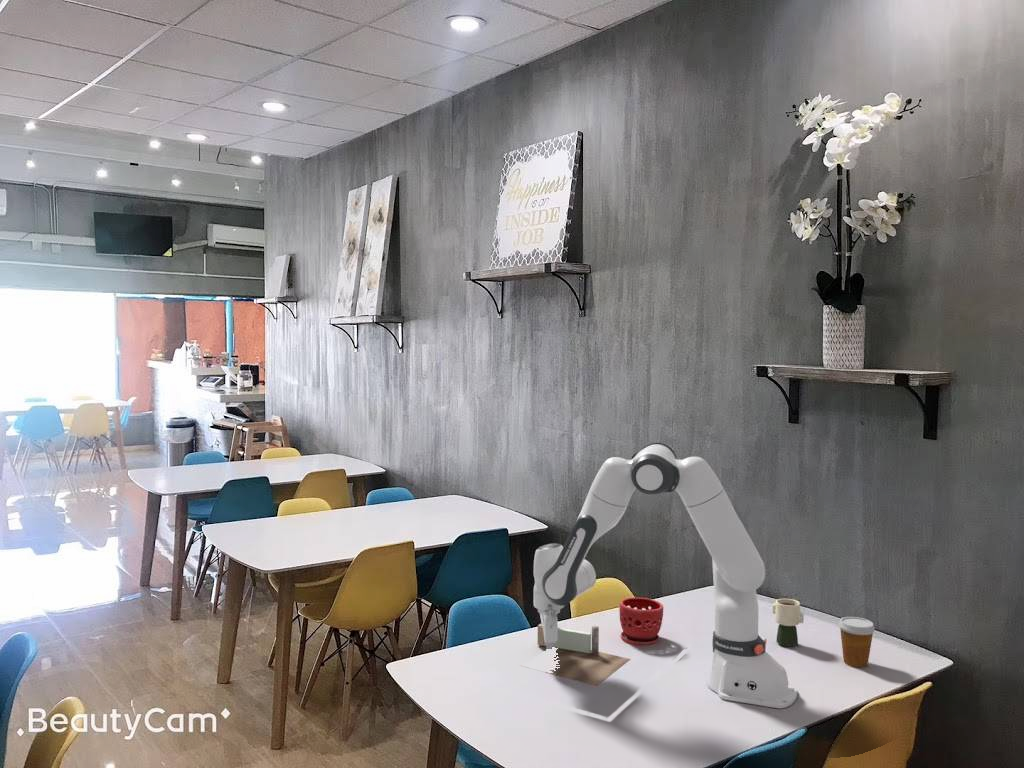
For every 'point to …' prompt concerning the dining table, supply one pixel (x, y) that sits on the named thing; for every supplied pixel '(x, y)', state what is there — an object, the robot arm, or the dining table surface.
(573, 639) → the gate
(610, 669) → the gate base board
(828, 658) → the dining table surface
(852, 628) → the disposable coffee cup
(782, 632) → the character mug
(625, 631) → the plant pot
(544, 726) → the dining table surface
